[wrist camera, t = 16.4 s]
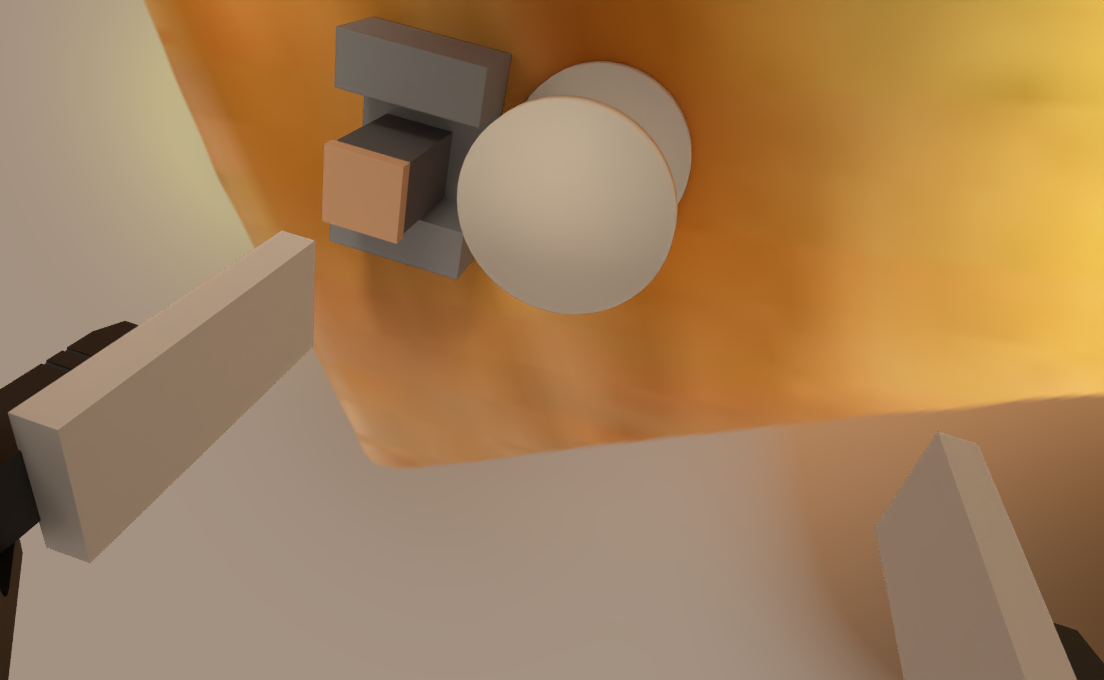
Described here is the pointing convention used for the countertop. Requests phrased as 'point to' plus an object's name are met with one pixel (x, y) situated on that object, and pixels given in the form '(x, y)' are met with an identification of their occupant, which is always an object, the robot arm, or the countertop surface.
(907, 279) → the countertop surface
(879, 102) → the countertop surface
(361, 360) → the countertop surface
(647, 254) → the bobbin
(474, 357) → the countertop surface
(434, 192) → the tan and grey block
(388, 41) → the notch board
